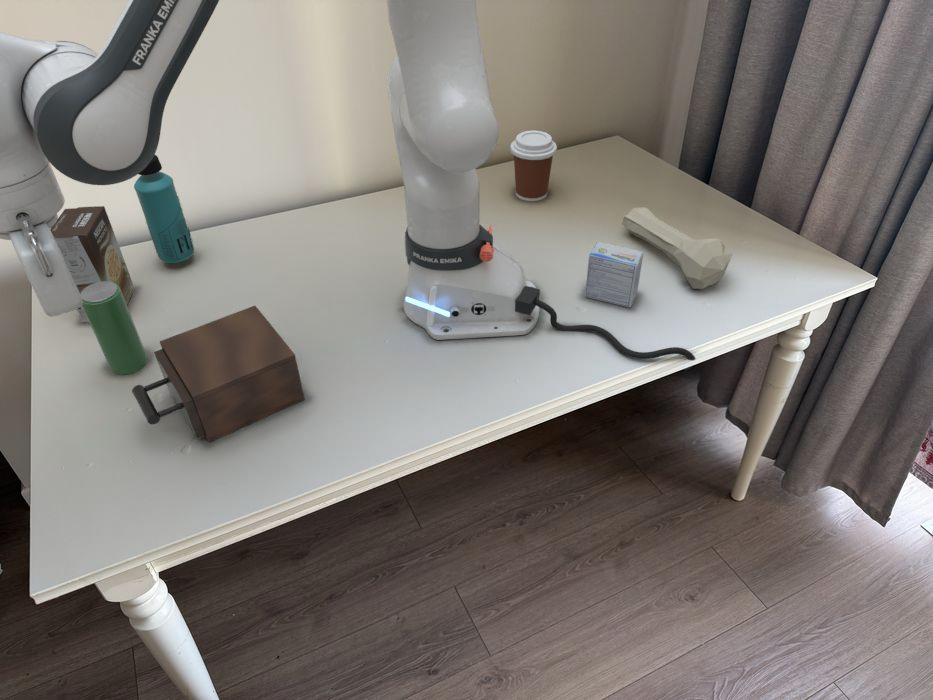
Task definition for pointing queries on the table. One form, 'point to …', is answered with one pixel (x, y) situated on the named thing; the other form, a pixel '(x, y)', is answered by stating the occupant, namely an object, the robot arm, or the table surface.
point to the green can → (113, 327)
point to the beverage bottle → (163, 214)
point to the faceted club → (681, 248)
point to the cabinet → (235, 371)
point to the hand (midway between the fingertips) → (62, 304)
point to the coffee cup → (532, 164)
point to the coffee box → (91, 250)
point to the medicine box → (613, 274)
